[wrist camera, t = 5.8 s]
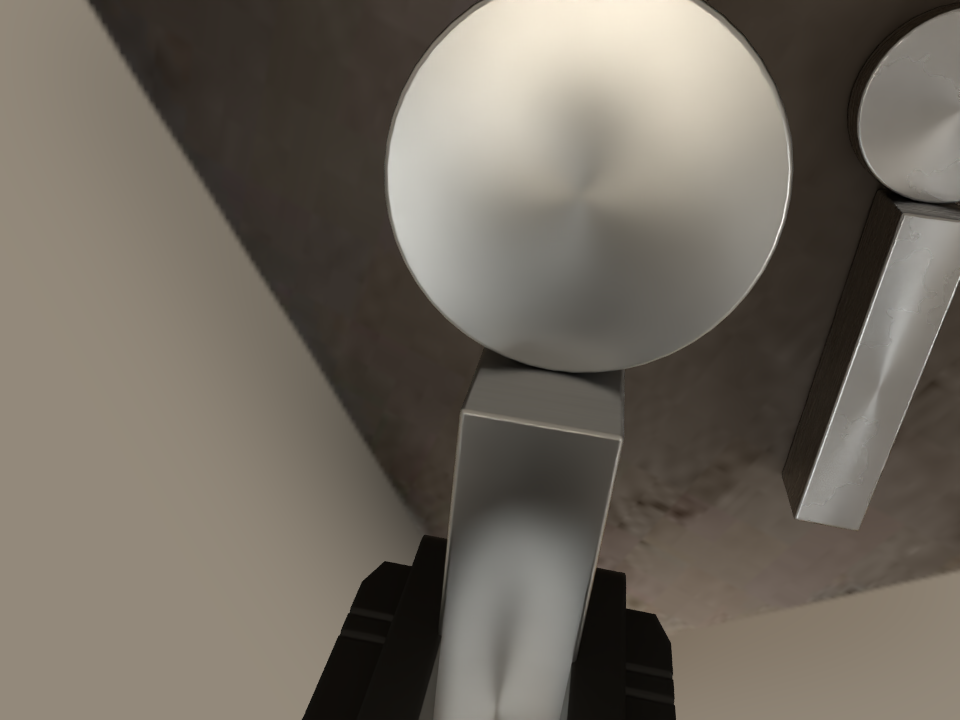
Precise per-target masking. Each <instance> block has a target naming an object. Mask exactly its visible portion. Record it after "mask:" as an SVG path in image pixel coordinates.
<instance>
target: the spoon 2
mask: <svg viewBox="0 0 960 720" xmlns="http://www.w3.org/2000/svg"><path fill="white" fill-rule="evenodd" d="M847 119H848V132H849V137H850V141H851V144H852V147H853V150H854V152H855V154H856V156H857V158H858V160H859V161H860V162H861V164H862V165H863V166H864V168H865V169H866V170H867V171H868V172H869V173H870V174H871V175H872V176H873V177H874V178H876V179H877V180H878V181H879V182H880V183H881V184H882V185H884V186H885V187H887V188H888V189H889V190H891V191H889V190H878V191H877V192H876V195H875V198H874V201H873V204H872V207H871V210H870V213H869V216H868V219H867V222H866V225H865V228H864V231H863V234H862V237H861V240H860V243H859V246H858V249H857V252H856V255H855V258H854V261H853V264H852V267H851V270H850V273H849V276H848V279H847V282H846V285H845V288H844V291H843V294H842V297H841V300H840V303H839V306H838V309H837V312H836V315H835V318H834V321H833V324H832V327H831V330H830V333H829V336H828V339H827V342H826V345H825V348H824V351H823V354H822V357H821V360H820V363H819V366H818V369H817V372H816V375H815V378H814V381H813V384H812V387H811V390H810V393H809V396H808V399H807V402H806V405H805V408H804V411H803V414H802V417H801V420H800V423H799V426H798V429H797V432H796V435H795V438H794V441H793V444H792V447H791V450H790V453H789V456H788V459H787V462H786V465H785V468H784V471H783V474H782V478H783V481H784V485H785V488H786V492H787V495H788V499H789V502H790V506H791V509H792V513H793V516H794V519H796V520H800V521H805V522H811V523H816V524H822V525H827V526H833V527H838V528H844V529H849V530H855V531H858V530H859V528H860V526H861V524H862V521H863V519H864V516H865V514H866V511H867V509H868V506H869V504H870V501H871V499H872V496H873V494H874V491H875V489H876V487H877V484H878V482H879V479H880V477H881V474H882V472H883V469H884V467H885V464H886V462H887V459H888V457H889V455H890V452H891V450H892V447H893V445H894V442H895V440H896V437H897V435H898V432H899V430H900V427H901V425H902V422H903V420H904V418H905V415H906V413H907V410H908V408H909V405H910V403H911V400H912V398H913V395H914V393H915V390H916V388H917V386H918V383H919V381H920V378H921V376H922V373H923V371H924V368H925V366H926V363H927V361H928V358H929V356H930V353H931V351H932V349H933V346H934V344H935V341H936V339H937V336H938V334H939V331H940V329H941V326H942V324H943V321H944V319H945V317H946V314H947V312H948V309H949V307H950V304H951V302H952V299H953V297H954V294H955V292H956V289H957V287H958V285H959V282H960V206H958V205H957V204H956V203H954V202H960V3H957V4H951V5H947V6H942V7H939V8H936V9H933V10H930V11H927V12H925V13H923V14H921V15H919V16H917V17H915V18H913V19H911V20H910V21H908V22H907V23H905V24H903V25H902V26H900V27H899V28H898V29H896V30H895V31H894V32H893V33H891V34H890V35H889V36H888V37H887V38H886V39H885V40H884V41H883V42H882V43H881V44H880V45H879V46H878V47H877V48H876V49H875V51H874V52H873V53H872V54H871V55H870V57H869V58H868V60H867V61H866V63H865V64H864V66H863V67H862V69H861V71H860V73H859V75H858V77H857V79H856V81H855V84H854V87H853V89H852V92H851V97H850V101H849V106H848V116H847Z"/></svg>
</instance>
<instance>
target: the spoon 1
mask: <svg viewBox="0 0 960 720" xmlns="http://www.w3.org/2000/svg"><path fill="white" fill-rule="evenodd" d="M792 180H793V152H792V138H791V134H790V129H789V124H788V119H787V114H786V110H785V108H784V105H783V102H782V99H781V97H780V94H779V91H778V88H777V86H776V83H775V82H774V80H773V78H772V76H771V74H770V72H769V71H768V69H767V67H766V65H765V63H764V61H763V59H762V58H761V57H760V55H759V54H758V53H757V51H756V50H755V49H754V47H753V46H752V45H751V43H750V42H749V41H748V39H747V38H746V37H745V35H744V34H743V33H742V32H741V31H740V30H739V29H738V28H737V27H736V26H735V25H733V24H732V23H731V22H730V21H729V20H728V19H727V18H726V17H725V16H724V15H723V14H722V13H721V12H719V11H718V10H716V9H715V8H714V7H712V6H711V5H710V4H708V3H707V2H705V1H704V0H480V1H478V2H476V3H475V4H473V5H472V6H471V7H469V8H468V9H467V10H466V11H464V12H463V13H462V14H461V15H459V16H458V17H457V18H456V19H454V20H453V21H452V22H451V23H450V24H449V25H448V26H447V27H446V28H445V29H444V30H443V31H442V32H441V33H440V34H439V35H438V36H437V37H436V38H435V40H434V41H433V42H432V43H431V44H430V45H429V47H428V48H427V50H426V51H425V52H424V54H423V55H422V57H421V58H420V59H419V61H418V62H417V63H416V65H415V67H414V68H413V70H412V72H411V74H410V76H409V78H408V80H407V81H406V83H405V85H404V87H403V89H402V91H401V94H400V97H399V99H398V102H397V104H396V107H395V110H394V112H393V115H392V120H391V124H390V128H389V132H388V136H387V142H386V151H385V161H384V187H385V197H386V204H387V210H388V216H389V220H390V223H391V227H392V231H393V234H394V238H395V241H396V243H397V245H398V248H399V250H400V253H401V255H402V257H403V260H404V262H405V264H406V266H407V267H408V269H409V271H410V272H411V274H412V276H413V278H414V279H415V281H416V283H417V284H418V286H419V287H420V288H421V290H422V291H423V292H424V294H425V295H426V296H427V298H428V299H429V300H430V302H431V303H432V304H433V305H434V306H435V307H436V308H437V309H438V310H439V311H440V312H441V313H442V315H443V316H444V317H445V318H446V319H447V320H448V321H450V322H451V323H452V324H453V325H455V326H456V327H457V328H458V329H459V330H461V331H462V332H463V333H464V334H465V335H467V336H469V337H470V338H472V339H473V340H475V341H476V342H478V343H479V344H481V345H483V346H484V350H483V352H482V355H481V358H480V360H479V363H478V366H477V368H476V371H475V373H474V376H473V379H472V381H471V384H470V387H469V389H468V392H467V395H466V397H465V400H464V402H463V405H462V408H461V410H460V418H459V428H458V438H457V448H456V458H455V468H454V478H453V488H452V499H451V509H450V519H449V529H448V539H447V549H446V559H445V569H444V579H443V589H442V600H441V610H440V620H439V630H438V632H439V635H441V636H442V638H441V648H440V658H439V667H438V677H437V686H436V696H435V706H434V715H433V720H560V715H561V710H562V706H563V701H564V696H565V692H566V687H567V682H568V678H569V673H570V669H571V664H572V662H575V661H576V660H577V655H578V651H579V646H580V641H581V637H582V632H583V627H584V623H585V618H586V613H587V609H588V604H589V600H590V595H591V590H592V586H593V581H594V576H595V572H596V567H597V563H598V558H599V553H600V549H601V544H602V539H603V535H604V530H605V525H606V521H607V516H608V512H609V507H610V502H611V498H612V493H613V488H614V484H615V479H616V474H617V470H618V465H619V461H620V456H621V451H622V447H623V442H624V379H625V369H627V368H631V367H635V366H639V365H643V364H647V363H649V362H652V361H655V360H657V359H660V358H663V357H665V356H668V355H670V354H672V353H674V352H676V351H678V350H680V349H682V348H684V347H686V346H688V345H689V344H691V343H693V342H694V341H696V340H697V339H699V338H700V337H702V336H703V335H705V334H706V333H708V332H709V331H710V330H712V329H713V328H714V327H716V326H717V325H718V324H719V323H720V322H721V321H722V320H724V319H725V318H726V317H727V316H728V315H729V314H730V313H732V312H733V310H734V309H735V308H736V307H737V306H738V305H739V304H740V303H741V301H742V300H743V299H744V298H745V297H746V296H747V295H748V294H749V292H750V291H751V290H752V288H753V287H754V285H755V284H756V282H757V281H758V279H759V278H760V276H761V275H762V274H763V272H764V271H765V269H766V267H767V265H768V263H769V261H770V259H771V257H772V255H773V253H774V251H775V249H776V247H777V244H778V242H779V239H780V236H781V233H782V231H783V228H784V225H785V222H786V218H787V213H788V209H789V204H790V199H791V194H792Z"/></svg>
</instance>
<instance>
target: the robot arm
mask: <svg viewBox="0 0 960 720" xmlns="http://www.w3.org/2000/svg"><path fill="white" fill-rule="evenodd" d="M446 549H447V539H444V538H439V537H434V536H429V535H424V536H423V538H422V540H421V542H420V545H419V548H418V551H417V554H416V556H415V559H414V562H413V565H412V566H407V565H401V564H397V563H392V562H386V561H385V562H383V563H382V564H381V565H380V566H379V567H378V568H377V569H376V570H374V571H373V572H372V573H371V574H370V575H369V576H368V577H367V578H366V579H365V580H363V581H362V583H361V585H360V588H359V590H358V592H357V595H356V597H355V599H354V602H353V604H352V606H351V609H350V613H348V615H347V618H346V620H345V622H344V624H343V627H342V629H341V634H340V636H338V638H337V641H336V643H335V645H334V648H333V650H332V652H331V655H330V657H329V659H328V661H327V664H326V666H325V668H324V671H323V673H322V675H321V678H320V680H319V682H318V684H317V687H316V689H315V692H314V694H313V696H312V698H311V701H310V703H309V705H308V708H307V710H306V712H305V715H304V717H303V719H302V720H433V715H434V706H435V696H436V686H437V677H438V667H439V658H440V648H441V638H442V636H441V635H439V632H438V630H439V620H440V610H441V600H442V589H443V579H444V569H445V559H446ZM672 675H673V667H672V651H671V642H670V641H669V639H668V637H667V635H666V633H665V631H664V629H663V628H662V626H661V624H660V622H659V620H658V618H657V616H656V614H651V613H646V612H641V611H636V610H631V609H626V575H625V573H622V572H616V571H611V570H606V569H601V568H596V572H595V576H594V581H593V586H592V590H591V595H590V600H589V604H588V609H587V613H586V618H585V623H584V627H583V632H582V637H581V641H580V646H579V651H578V655H577V660H576V661H575V662H572V664H571V669H570V673H569V678H568V682H567V687H566V692H565V696H564V701H563V706H562V710H561V715H560V720H676V714H675V705H674V683H673V680H672Z"/></svg>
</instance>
